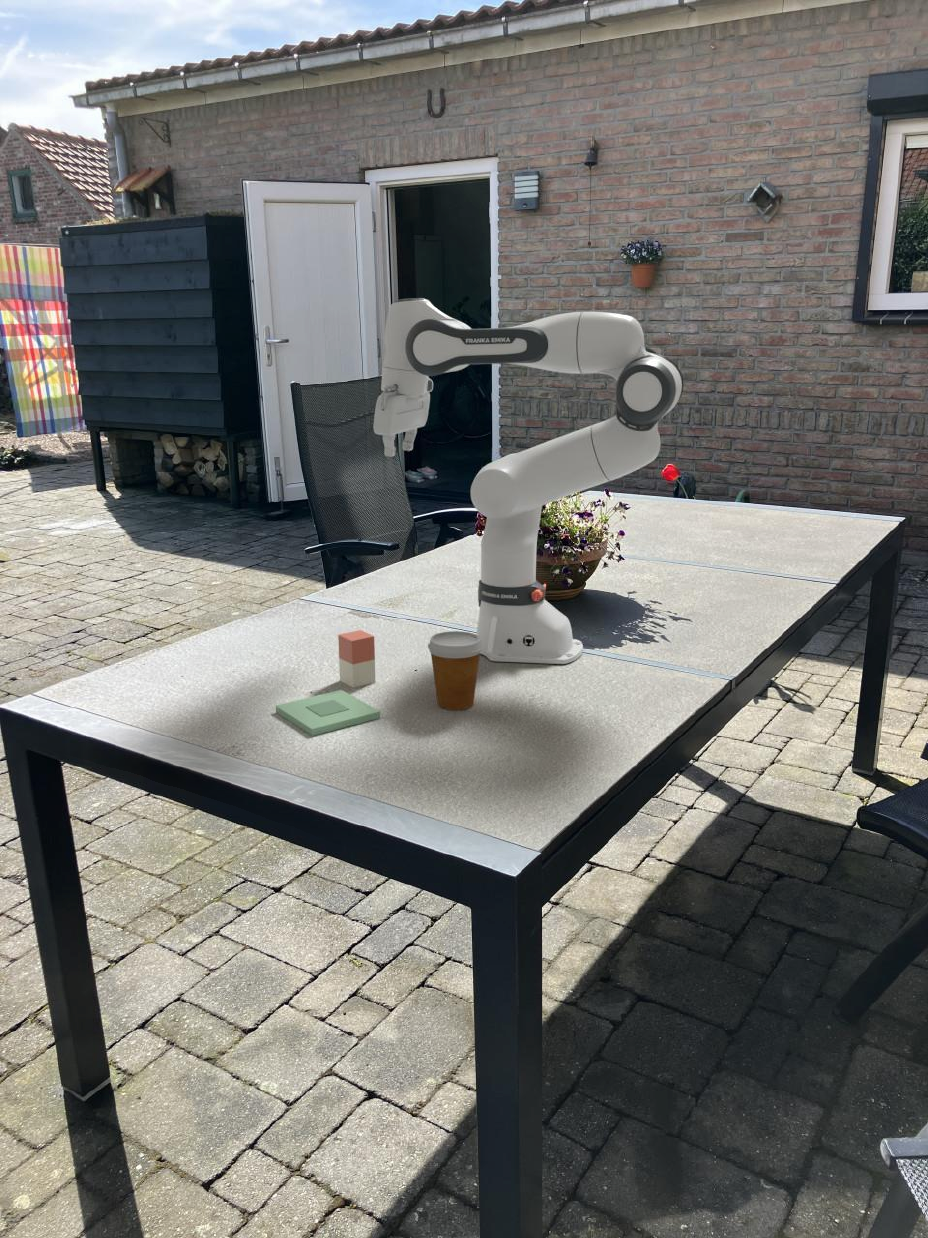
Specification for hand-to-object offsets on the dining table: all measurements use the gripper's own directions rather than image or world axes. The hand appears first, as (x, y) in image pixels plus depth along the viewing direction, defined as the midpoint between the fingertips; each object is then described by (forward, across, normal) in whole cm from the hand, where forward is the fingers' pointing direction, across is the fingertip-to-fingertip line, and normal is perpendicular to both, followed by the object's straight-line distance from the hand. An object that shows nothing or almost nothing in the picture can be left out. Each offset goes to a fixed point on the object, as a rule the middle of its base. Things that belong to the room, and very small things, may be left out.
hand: (398, 453), depth 206 cm
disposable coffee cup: (+36, -33, -27) cm, 56 cm away
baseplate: (+38, -45, -8) cm, 59 cm away
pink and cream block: (+38, -28, -6) cm, 48 cm away
